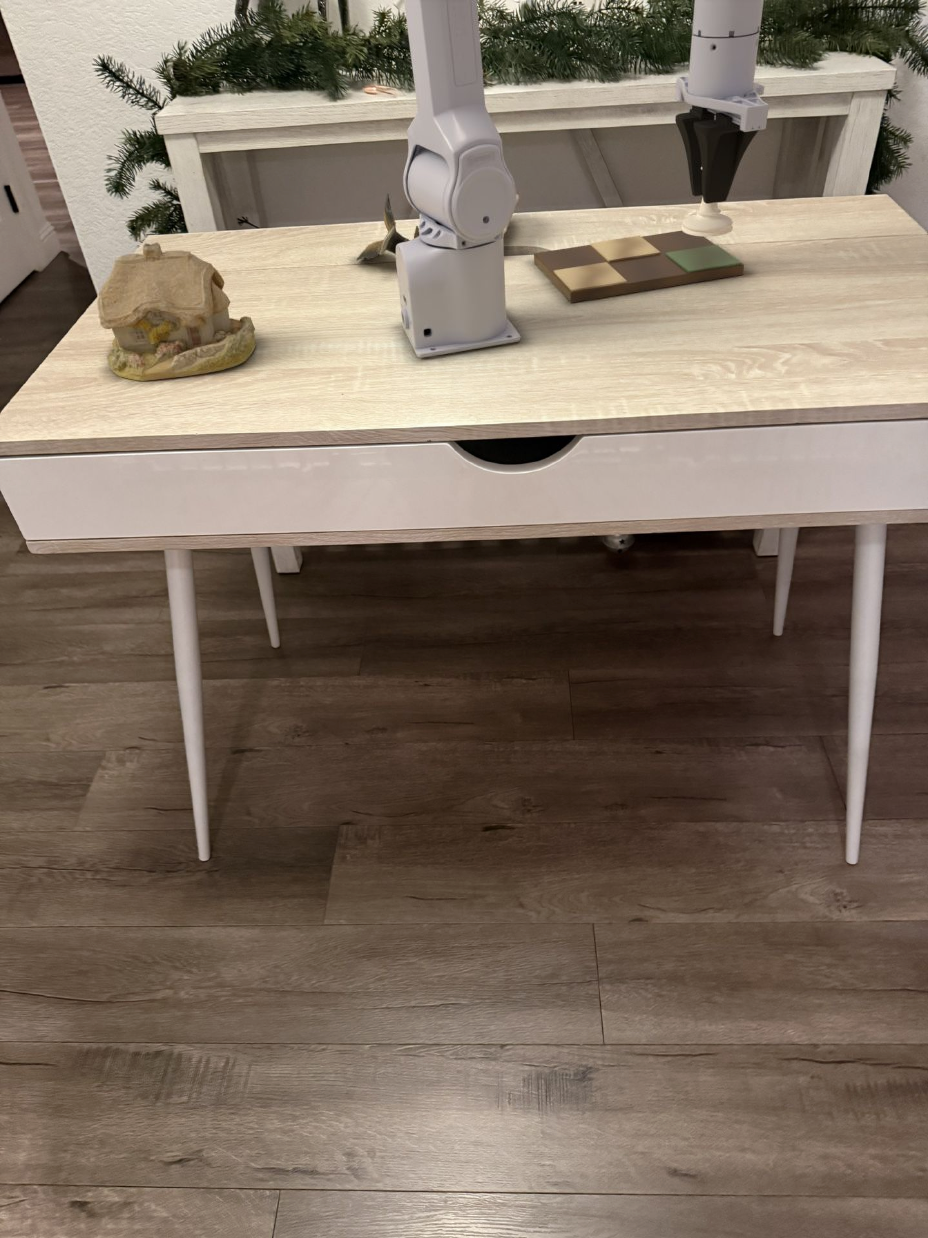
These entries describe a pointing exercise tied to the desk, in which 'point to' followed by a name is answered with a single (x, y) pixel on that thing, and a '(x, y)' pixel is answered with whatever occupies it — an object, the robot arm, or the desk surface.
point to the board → (635, 265)
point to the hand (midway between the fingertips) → (709, 197)
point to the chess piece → (707, 221)
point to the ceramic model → (170, 317)
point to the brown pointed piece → (390, 239)
